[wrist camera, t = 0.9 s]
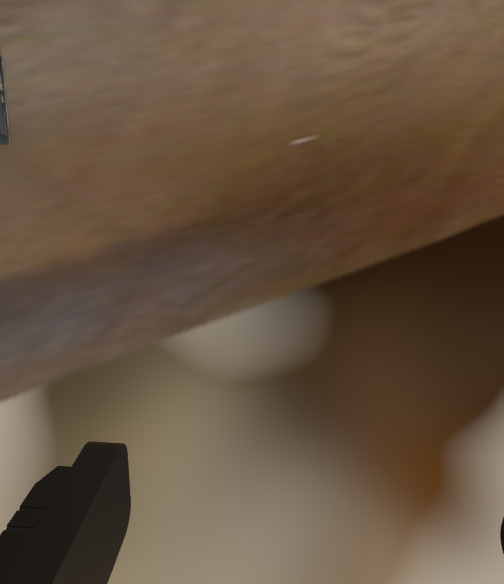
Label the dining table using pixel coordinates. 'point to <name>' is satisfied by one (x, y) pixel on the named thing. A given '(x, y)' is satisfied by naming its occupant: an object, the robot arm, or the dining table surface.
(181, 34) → the dining table surface
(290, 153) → the dining table surface
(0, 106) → the box
